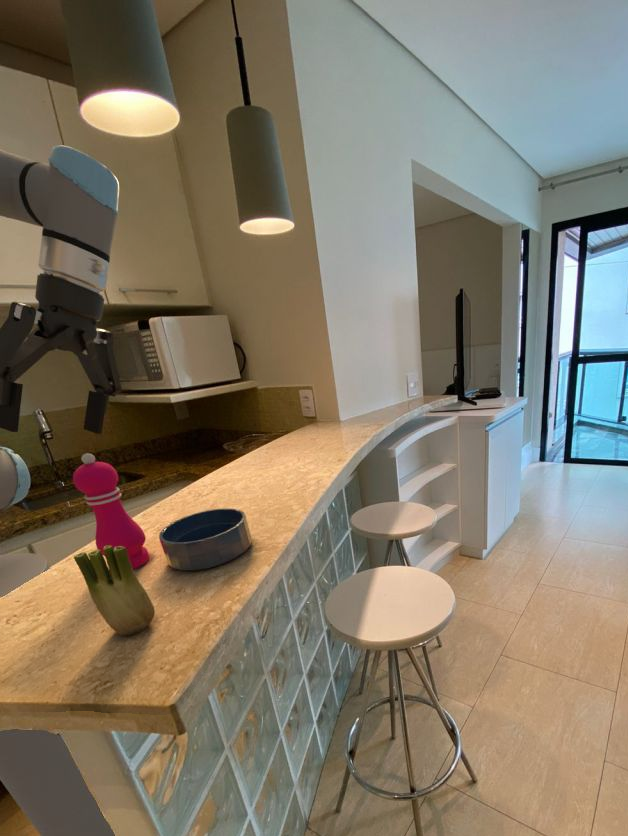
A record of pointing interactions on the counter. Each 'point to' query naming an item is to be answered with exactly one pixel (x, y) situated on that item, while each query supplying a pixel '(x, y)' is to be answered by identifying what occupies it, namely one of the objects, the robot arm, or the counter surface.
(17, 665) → the counter surface
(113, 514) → the pepper mill
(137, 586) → the fennel bulb
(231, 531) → the bowl
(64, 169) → the robot arm
